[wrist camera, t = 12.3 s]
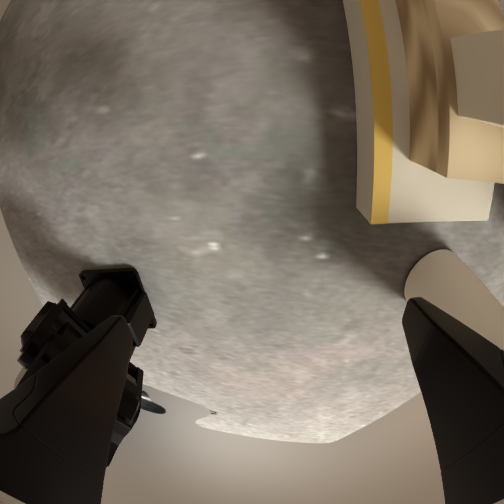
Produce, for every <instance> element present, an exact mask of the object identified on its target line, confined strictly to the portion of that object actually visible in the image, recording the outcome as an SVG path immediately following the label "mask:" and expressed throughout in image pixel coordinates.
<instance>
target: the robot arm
mask: <svg viewBox="0 0 504 504" xmlns="http://www.w3.org/2000/svg"><path fill="white" fill-rule="evenodd" d="M131 274H133V275H134V276H133V275H131ZM84 276H85V277H84ZM79 277H80V279H81V282H82V284H83V286H84V288H85V289H84V291H83V292H82V293H81V294H80V296H79V297H78V298H77V300H76V301H75V302H74V304H73V305H72V306H71V308H70V307H69V306H68V305H67V303H66V302H65V301H64V300H63V299H61V300H60V302H59V303H58V304H56V303H52V302H49V301H48V302H47V303H46V304H45V305H44V306H43V308H42V309H41V310H40V312H39V313H38V314H37V315H36V316H35V318H34V319H33V320H32V322H31V323H30V324H29V325H28V327H27V328H26V329H25V331H24V332H23V333H22V335H21V343H22V348H21V350H20V351H21V354H20V356H19V358H18V360H17V361H18V362H19V363H20V364H21V365H22V366H23V368H22V370H21V372H20V373H19V375H18V376H17V378H16V381H15V386H14V390H12V391H11V392H9V393H8V394H7V395H5V396H4V397H2V398H1V399H0V504H101V497H102V490H103V481H104V476H105V470H106V467H107V466H109V464H110V462H111V460H112V458H113V456H114V454H115V451H116V450H117V448H118V446H119V444H120V443H121V441H122V440H123V438H124V437H125V436H126V435H127V434H128V433H129V431H130V430H131V429H132V427H133V426H134V424H135V422H136V421H137V418H138V416H139V413H140V408H141V395H142V383H143V370H141V369H140V368H139V367H136V366H135V365H133V364H132V363H131V362H129V361H130V359H131V356H132V354H133V352H134V349H135V347H139V346H140V345H141V343H142V341H143V338H144V336H145V334H146V331H147V329H148V328H155V327H156V324H157V322H156V319H155V317H154V312H153V309H152V307H151V304H150V302H149V299H148V296H147V294H146V292H145V291H144V288H143V285H142V282H141V279H140V277H139V274H138V272H137V271H136V270H135V269H133V268H128V269H108V270H87V271H82V272H81V273H80V274H79ZM151 323H152V324H151ZM402 325H403V329H404V332H405V336H406V340H407V344H408V348H409V352H410V356H411V360H412V364H413V367H414V371H415V373H416V376H417V380H418V383H419V386H420V389H421V392H422V395H423V399H424V402H425V405H426V409H427V412H428V416H429V420H430V423H431V428H432V432H433V436H434V439H435V445H436V449H437V454H438V458H439V464H440V469H441V476H442V482H443V489H444V496H445V504H504V351H503V350H502V349H501V350H500V348H499V347H498V346H496V345H495V344H493V343H492V342H490V341H489V340H487V339H486V338H484V337H483V336H481V335H480V334H478V333H477V332H475V331H474V330H472V329H471V328H469V327H468V326H466V325H465V324H463V323H462V322H460V321H459V320H457V319H456V318H454V317H452V316H451V315H449V314H448V313H446V312H445V311H443V310H441V309H440V308H438V307H437V306H435V305H433V304H432V303H430V302H429V301H427V300H425V299H424V298H422V297H413V298H410V299H409V300H408V301H407V305H406V308H405V311H404V314H403V318H402Z"/></svg>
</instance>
